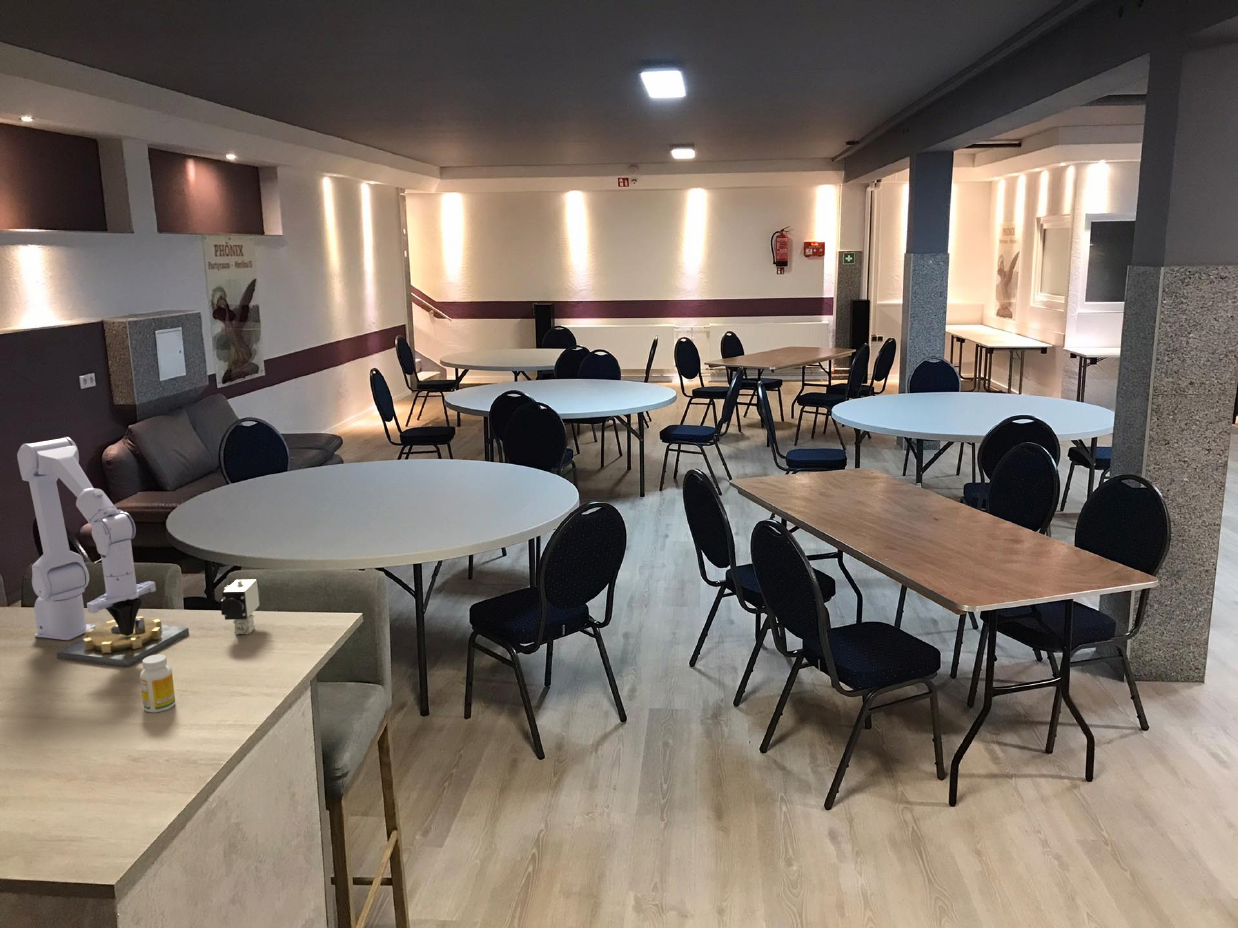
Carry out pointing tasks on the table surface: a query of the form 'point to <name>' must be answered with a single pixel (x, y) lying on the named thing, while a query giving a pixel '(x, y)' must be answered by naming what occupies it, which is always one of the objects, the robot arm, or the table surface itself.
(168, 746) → the table surface
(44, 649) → the table surface
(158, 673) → the supplement bottle
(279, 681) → the table surface
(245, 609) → the pneumatic valve
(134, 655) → the cap plate
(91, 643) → the blocky toothed spur gear
